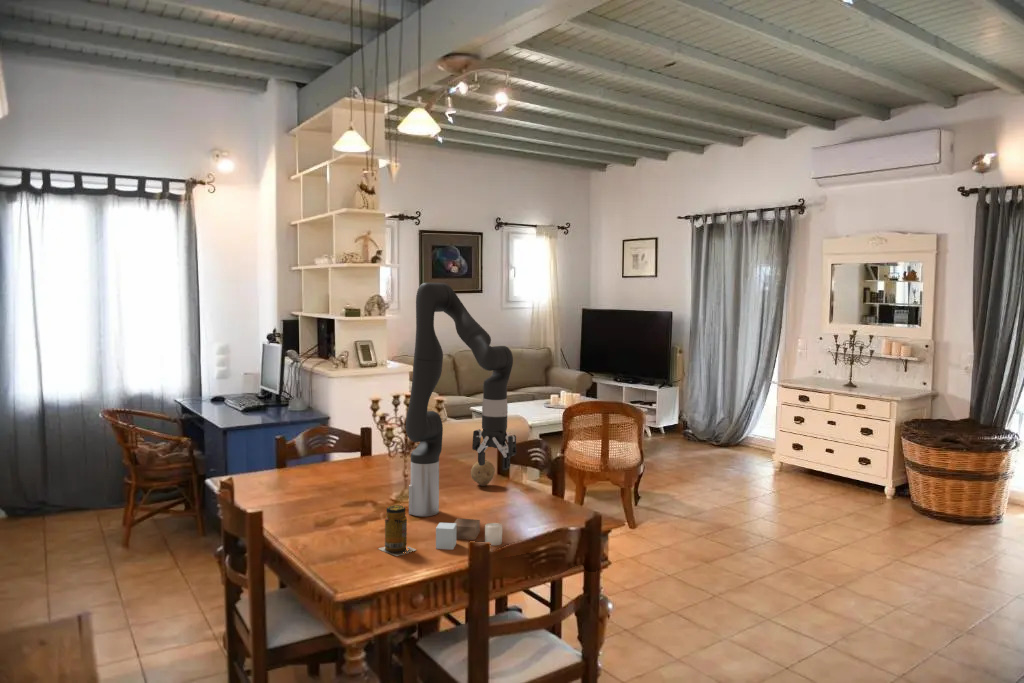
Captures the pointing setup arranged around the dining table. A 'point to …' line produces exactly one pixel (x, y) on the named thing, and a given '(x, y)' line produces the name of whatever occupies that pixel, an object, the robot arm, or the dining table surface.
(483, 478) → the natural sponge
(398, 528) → the condiment
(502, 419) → the robot arm
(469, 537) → the walnut block
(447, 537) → the pale grey block
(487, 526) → the cream cylinder
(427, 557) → the dining table surface
